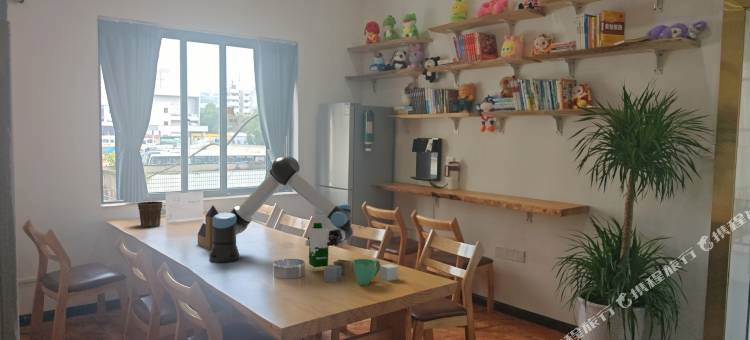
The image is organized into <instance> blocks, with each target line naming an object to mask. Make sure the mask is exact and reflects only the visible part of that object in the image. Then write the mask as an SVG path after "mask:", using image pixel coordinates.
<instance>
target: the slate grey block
mask: <svg viewBox="0 0 750 340" xmlns="http://www.w3.org/2000/svg"><path fill="white" fill-rule="evenodd" d="M342 277H343V276H342V266H337V265H333V264H328V266H324V267H323V281H326V282H333V283H336V282H338V281H341V280H342V279H343V278H342Z"/></svg>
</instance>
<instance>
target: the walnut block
mask: <svg viewBox="0 0 750 340" xmlns="http://www.w3.org/2000/svg"><path fill="white" fill-rule="evenodd" d="M332 265H337V266H342V277H346V276H347V275H350V274H351V260H348V259H347V260H345V259H337V260H335V261H333V264H332Z"/></svg>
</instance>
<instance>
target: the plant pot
mask: <svg viewBox="0 0 750 340" xmlns="http://www.w3.org/2000/svg"><path fill="white" fill-rule="evenodd" d="M163 203H164V202H163V201H154V200H153V201H142V202H137V208H138V213H139V220H140V227H142V228H150V227H151V228H155V227H159V226H161V215H162V208H163Z"/></svg>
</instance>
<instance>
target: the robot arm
mask: <svg viewBox="0 0 750 340" xmlns="http://www.w3.org/2000/svg"><path fill="white" fill-rule="evenodd" d="M300 167H301V166H300V163H299V161H298V160H297V159H296V158H294V157H292V156H288V155H287V156H282V157H278V158H276V159H275V160H274V161H273V162H272V163H271V168H270V169H269V171H268V176H267V177H266V178H264V180H263V181H262V182H261V183H260V184H259V185H258V186H257V187H256V188H255V189H254V190H253V191H252V192H251V194H249V196H248V197H247V198H246V199H245V200H244V201H243V202H242V203H241V204H240V205H237V206H234V208H232V209H231V211H230V212H221V213H219V214H217V215H215V216H214V217H213V246H212V249H211V250H210V252H209V255H208V256H209V257H208V260H209V261H210V262H213V263H219V264H220V263H233V262H236V261H239V260H240V257H241V256H240V252H239V249H238V246H237V235H238V234H241V233H243V232H244V231H245V230H246V229H247V227H248V226H249V224H250V223H252V221H253V216H254V215H255V214H256V213H257V212H258V211H259V210H260V209H261V208H262V207H263V206H264V205H265V203H266V202H267V201H268V200H269V199H270V198H271V197H272V196H273V195H274V194H275V193H276V191H278V190H279V189H280V187H283V186H284V187H289V188H291V189H292V190H293V191H294V192H296V194H298V195H299V196H301V197H302V198H303V199H304V200H305V201H306V202H307V203H309V204H310V205H311V206H312V207H314V209H316V210H318V212H320V213H321V214H322V215H324V216H325V217H326V218H327V219H328V220H330V222H331V225H332V226H334V227H335V228H333V229H329V240H328V241H325V242H323V248H326V247H328V248H329V247H330V246H333V245H334V247H336V246H337V247H338V246H339V244H342V243H343V242H344V241H347V240H349V239H350V238H352V237H353V235H354V229H353V227H352V224H351V222H352V220H351V218H352V206H351V204H350V203H338V204H335V203H334V202H332V200H330V199H329V198H327V197H326V196H325V195H324V194H323V193H321V192H320V191H319V190H318V189H316V188H315V187H314V186H313V185H312V184H311V183H310V182H308V181H307V180H306V179H305V178H303V177H302V176H301V175H299V172H300ZM309 237H310V236H309ZM309 237H307V239H305V244H304V246H305V247H309V244H310V240H309Z"/></svg>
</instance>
